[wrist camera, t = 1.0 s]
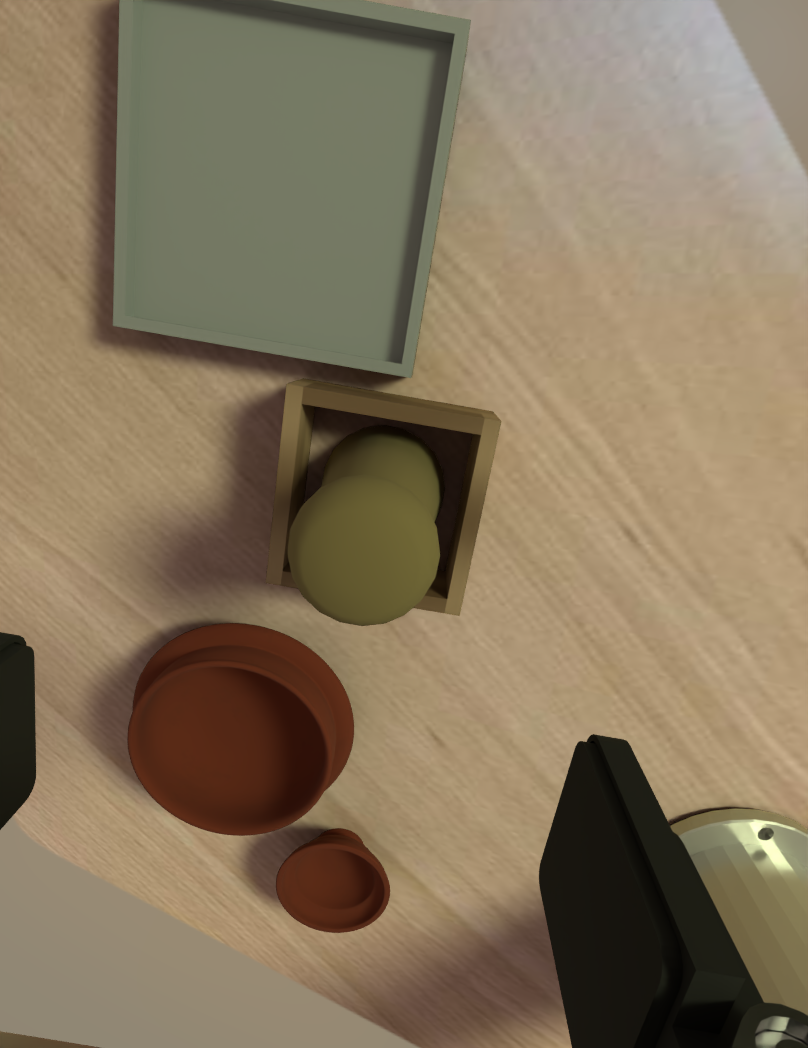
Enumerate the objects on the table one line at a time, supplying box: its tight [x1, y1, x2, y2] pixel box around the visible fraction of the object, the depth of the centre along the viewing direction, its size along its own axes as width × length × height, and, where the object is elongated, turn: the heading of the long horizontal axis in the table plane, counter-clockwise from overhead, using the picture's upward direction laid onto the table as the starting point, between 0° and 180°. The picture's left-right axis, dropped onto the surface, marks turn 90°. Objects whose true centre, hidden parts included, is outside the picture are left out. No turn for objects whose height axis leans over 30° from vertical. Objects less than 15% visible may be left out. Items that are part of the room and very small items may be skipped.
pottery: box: [128, 623, 390, 933], centre depth 33 cm, size 12×20×4 cm, turn 25°
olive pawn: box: [288, 425, 445, 626], centre depth 24 cm, size 6×6×11 cm
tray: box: [113, 0, 471, 378], centre depth 25 cm, size 13×13×2 cm
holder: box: [266, 379, 501, 616], centre depth 28 cm, size 9×9×4 cm
